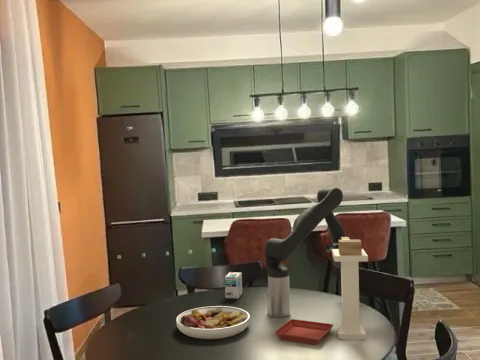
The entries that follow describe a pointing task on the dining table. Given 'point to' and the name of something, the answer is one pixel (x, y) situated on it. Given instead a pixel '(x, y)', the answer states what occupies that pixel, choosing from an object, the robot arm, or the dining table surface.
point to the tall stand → (350, 295)
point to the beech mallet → (350, 246)
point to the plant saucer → (303, 331)
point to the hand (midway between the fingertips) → (341, 243)
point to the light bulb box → (233, 285)
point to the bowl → (213, 322)
